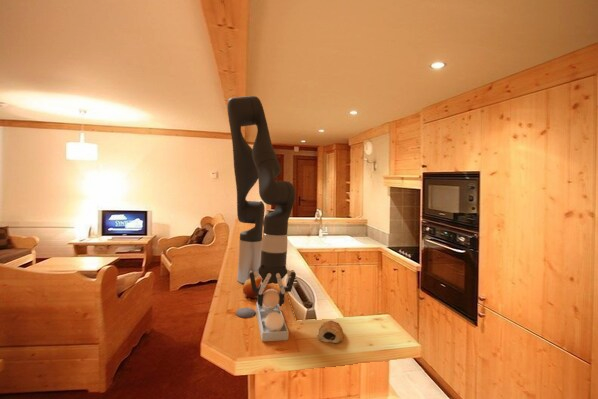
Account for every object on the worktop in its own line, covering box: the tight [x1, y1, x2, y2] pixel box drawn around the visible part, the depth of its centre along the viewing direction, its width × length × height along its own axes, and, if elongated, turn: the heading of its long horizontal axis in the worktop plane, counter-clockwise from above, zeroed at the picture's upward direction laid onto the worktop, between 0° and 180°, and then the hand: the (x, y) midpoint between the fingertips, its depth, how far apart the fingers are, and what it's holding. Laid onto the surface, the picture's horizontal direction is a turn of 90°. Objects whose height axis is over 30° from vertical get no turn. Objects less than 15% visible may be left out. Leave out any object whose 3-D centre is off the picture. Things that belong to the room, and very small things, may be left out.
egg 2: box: [265, 312, 284, 332], centre depth 80 cm, size 5×5×5 cm
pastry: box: [317, 320, 344, 344], centre depth 82 cm, size 9×7×4 cm
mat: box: [235, 307, 256, 319], centre depth 91 cm, size 6×6×1 cm
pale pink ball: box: [263, 288, 280, 308], centre depth 85 cm, size 5×5×5 cm
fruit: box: [242, 276, 265, 299], centre depth 105 cm, size 8×8×8 cm
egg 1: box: [261, 303, 276, 311], centre depth 92 cm, size 5×5×5 cm
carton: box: [255, 301, 290, 342], centre depth 86 cm, size 19×7×2 cm, turn 13°
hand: (270, 305), depth 85 cm, fingers closed on pale pink ball, 5 cm apart
